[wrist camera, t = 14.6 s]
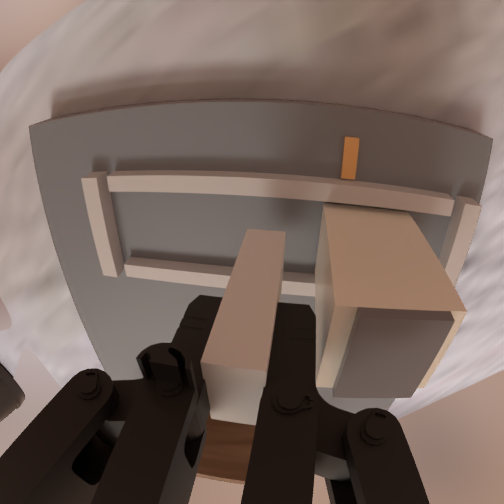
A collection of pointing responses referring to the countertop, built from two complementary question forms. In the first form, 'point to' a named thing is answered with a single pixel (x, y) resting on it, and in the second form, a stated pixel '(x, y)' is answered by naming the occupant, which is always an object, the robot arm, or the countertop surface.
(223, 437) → the door
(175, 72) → the countertop surface
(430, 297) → the fader knob
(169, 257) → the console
